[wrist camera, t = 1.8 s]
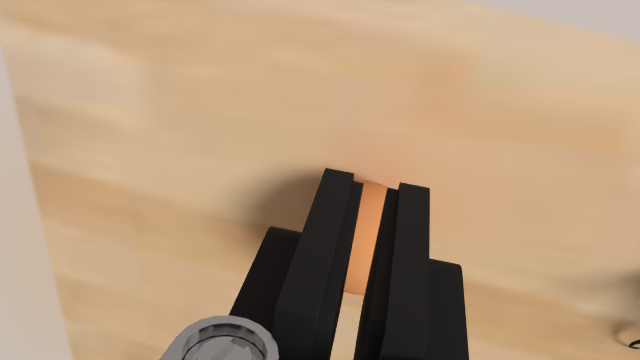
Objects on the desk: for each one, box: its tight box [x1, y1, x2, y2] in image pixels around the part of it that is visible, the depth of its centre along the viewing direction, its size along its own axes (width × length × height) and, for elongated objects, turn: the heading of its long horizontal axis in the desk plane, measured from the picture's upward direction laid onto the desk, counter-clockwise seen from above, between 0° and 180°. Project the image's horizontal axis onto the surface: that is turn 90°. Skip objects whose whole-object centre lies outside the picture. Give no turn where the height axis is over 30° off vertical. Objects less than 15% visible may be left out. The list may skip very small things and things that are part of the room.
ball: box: [344, 181, 388, 295], centre depth 28 cm, size 6×6×6 cm
